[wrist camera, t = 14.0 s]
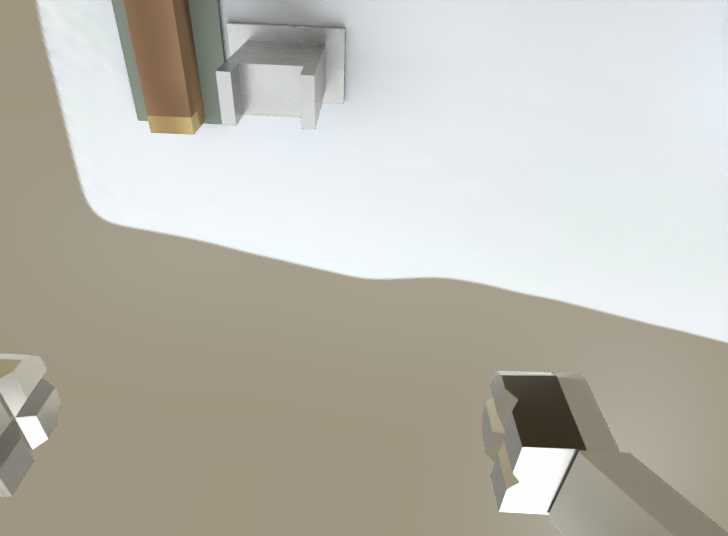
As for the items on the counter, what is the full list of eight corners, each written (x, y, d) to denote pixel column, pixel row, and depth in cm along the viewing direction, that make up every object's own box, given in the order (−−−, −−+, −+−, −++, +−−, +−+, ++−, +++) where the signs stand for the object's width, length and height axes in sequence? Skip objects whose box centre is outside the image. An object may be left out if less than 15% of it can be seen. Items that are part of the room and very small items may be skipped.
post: (345, 27, 34) (338, 57, 27) (343, 101, 37) (337, 146, 30) (228, 22, 34) (188, 50, 27) (236, 96, 37) (202, 140, 29)
